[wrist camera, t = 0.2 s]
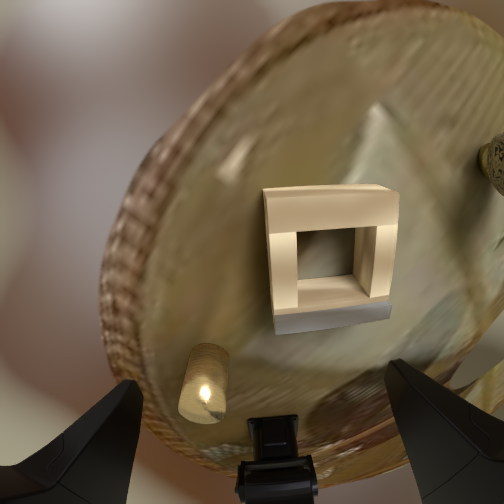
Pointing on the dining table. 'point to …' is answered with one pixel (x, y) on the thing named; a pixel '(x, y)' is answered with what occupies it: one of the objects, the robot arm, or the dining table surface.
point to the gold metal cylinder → (205, 385)
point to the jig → (337, 287)
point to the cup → (493, 161)
